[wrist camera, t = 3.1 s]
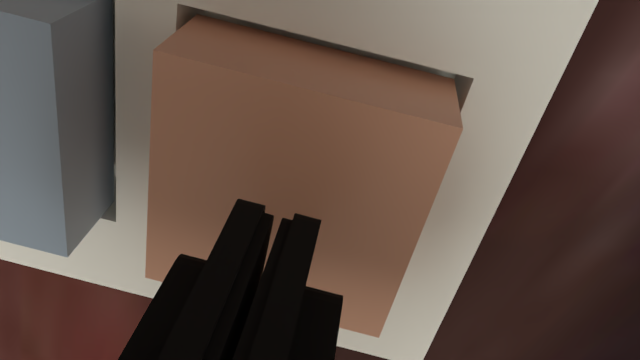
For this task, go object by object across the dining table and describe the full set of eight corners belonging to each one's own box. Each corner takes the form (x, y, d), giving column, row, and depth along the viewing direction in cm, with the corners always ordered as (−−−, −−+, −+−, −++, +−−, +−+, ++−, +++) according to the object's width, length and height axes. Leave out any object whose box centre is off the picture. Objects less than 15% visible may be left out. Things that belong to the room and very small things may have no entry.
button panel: (-434, -314, 14) (-710, -364, 10) (563, -64, 13) (614, -31, 10) (-254, 106, 20) (-386, 159, 17) (417, 279, 20) (419, 367, 17)
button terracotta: (197, 14, 12) (152, 50, 10) (454, 79, 12) (463, 129, 10) (181, 218, 15) (145, 277, 13) (383, 270, 15) (378, 337, 13)
